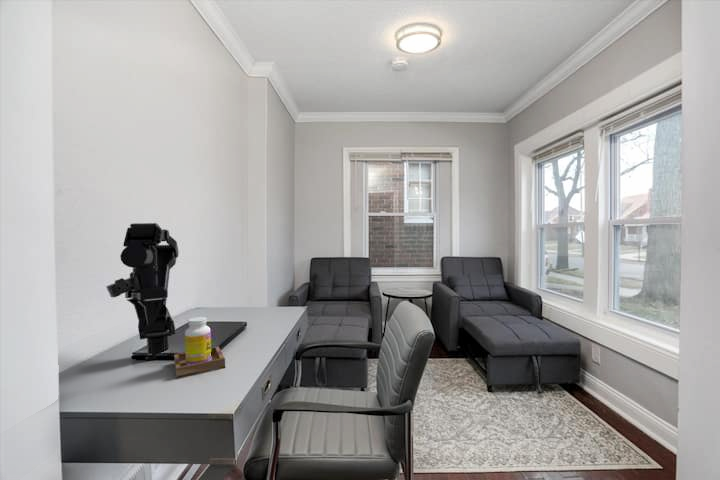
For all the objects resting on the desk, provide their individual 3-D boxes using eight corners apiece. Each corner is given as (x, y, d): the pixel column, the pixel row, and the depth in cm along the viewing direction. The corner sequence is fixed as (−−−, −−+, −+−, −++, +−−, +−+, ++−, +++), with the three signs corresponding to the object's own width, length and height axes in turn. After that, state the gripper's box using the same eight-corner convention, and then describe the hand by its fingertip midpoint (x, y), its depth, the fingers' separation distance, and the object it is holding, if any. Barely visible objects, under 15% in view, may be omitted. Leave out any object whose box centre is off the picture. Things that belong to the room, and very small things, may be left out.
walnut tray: (174, 363, 96) (174, 354, 96) (218, 354, 103) (218, 345, 103) (176, 378, 86) (176, 368, 86) (225, 367, 92) (224, 358, 92)
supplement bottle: (210, 366, 92) (208, 320, 92) (183, 369, 90) (181, 323, 90) (213, 357, 99) (211, 314, 98) (188, 360, 97) (186, 317, 96)
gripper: (103, 270, 92) (103, 326, 91) (116, 268, 79) (116, 333, 78) (148, 268, 100) (149, 320, 99) (167, 266, 87) (168, 325, 86)
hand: (145, 324), depth 90 cm, fingers open, 9 cm apart
